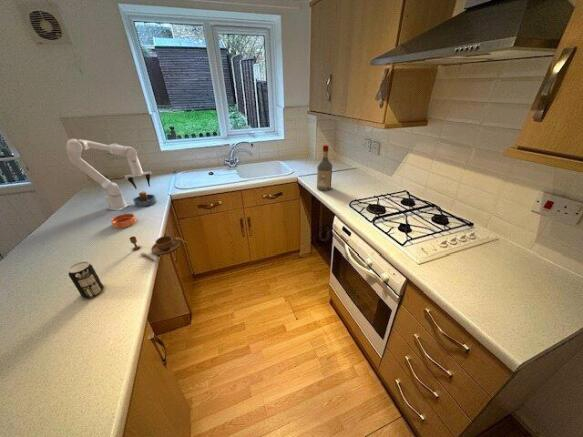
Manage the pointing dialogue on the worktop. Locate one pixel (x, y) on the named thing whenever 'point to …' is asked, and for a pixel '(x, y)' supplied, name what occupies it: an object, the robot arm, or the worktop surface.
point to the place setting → (161, 245)
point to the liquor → (324, 172)
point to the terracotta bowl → (123, 221)
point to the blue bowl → (149, 202)
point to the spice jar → (143, 196)
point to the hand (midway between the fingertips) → (142, 187)
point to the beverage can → (85, 279)
